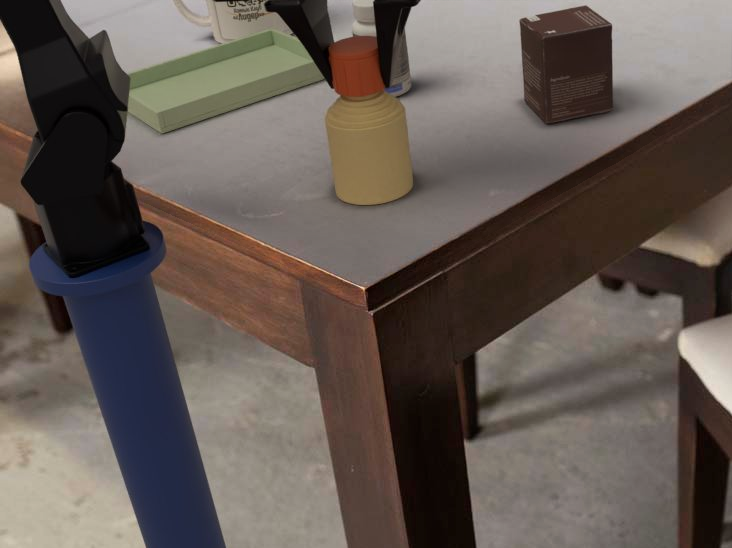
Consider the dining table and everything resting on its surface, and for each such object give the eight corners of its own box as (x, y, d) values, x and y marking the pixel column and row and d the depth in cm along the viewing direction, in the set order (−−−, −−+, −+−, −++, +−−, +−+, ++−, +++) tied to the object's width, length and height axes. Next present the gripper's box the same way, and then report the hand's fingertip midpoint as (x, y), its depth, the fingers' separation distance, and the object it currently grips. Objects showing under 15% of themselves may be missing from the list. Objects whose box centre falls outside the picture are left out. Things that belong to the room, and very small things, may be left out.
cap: (393, 76, 81) (388, 34, 80) (381, 96, 78) (376, 53, 77) (342, 77, 82) (336, 36, 81) (328, 98, 79) (321, 55, 78)
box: (614, 112, 91) (614, 23, 87) (544, 126, 91) (541, 37, 87) (589, 88, 96) (587, 3, 92) (522, 101, 96) (518, 16, 92)
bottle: (377, 212, 82) (359, 73, 76) (319, 194, 85) (298, 61, 79) (429, 180, 85) (415, 45, 79) (371, 165, 88) (354, 34, 82)
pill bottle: (413, 79, 104) (403, -12, 99) (409, 97, 100) (399, 3, 95) (363, 83, 104) (351, -7, 100) (357, 102, 100) (344, 8, 96)
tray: (161, 134, 100) (156, 112, 99) (109, 99, 109) (104, 80, 108) (339, 74, 107) (336, 53, 106) (276, 46, 117) (273, 27, 116)
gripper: (497, -181, 75) (509, 45, 84) (245, -160, 81) (281, 51, 89) (462, -147, 67) (479, 101, 75) (182, -126, 72) (229, 103, 81)
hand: (362, 86), depth 81 cm, fingers closed on cap, 4 cm apart
